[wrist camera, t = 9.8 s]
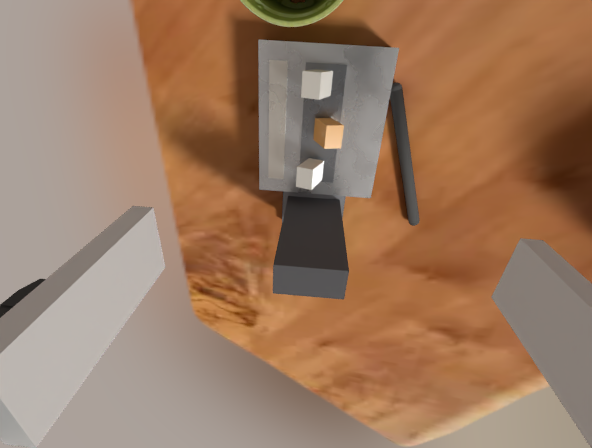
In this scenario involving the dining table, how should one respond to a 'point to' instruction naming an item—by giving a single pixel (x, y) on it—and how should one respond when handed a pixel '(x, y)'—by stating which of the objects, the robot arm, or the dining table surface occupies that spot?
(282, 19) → the plant pot
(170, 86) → the dining table surface
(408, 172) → the dark grey thin rod
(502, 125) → the dining table surface
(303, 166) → the matte cream brick
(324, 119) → the tan cardboard carton
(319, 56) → the breaker panel
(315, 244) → the dark grey rectangular block
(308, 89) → the cream colored chunky brick
